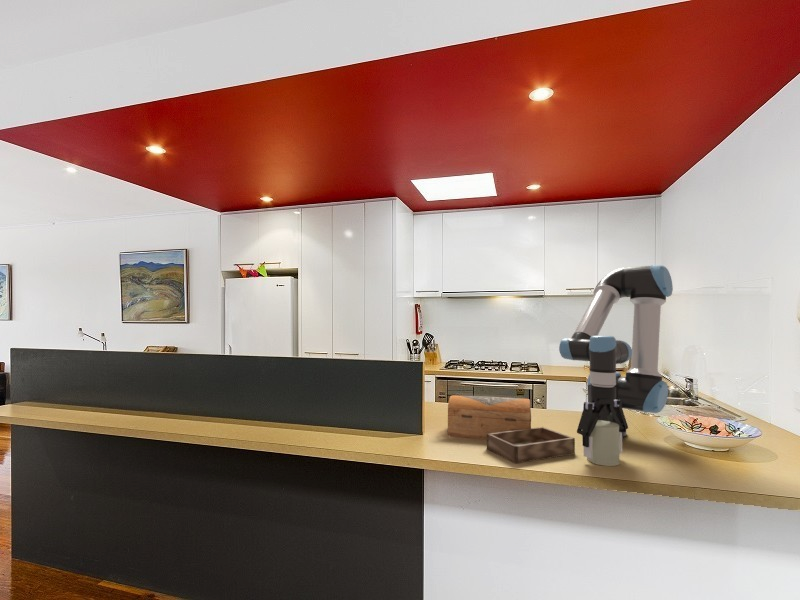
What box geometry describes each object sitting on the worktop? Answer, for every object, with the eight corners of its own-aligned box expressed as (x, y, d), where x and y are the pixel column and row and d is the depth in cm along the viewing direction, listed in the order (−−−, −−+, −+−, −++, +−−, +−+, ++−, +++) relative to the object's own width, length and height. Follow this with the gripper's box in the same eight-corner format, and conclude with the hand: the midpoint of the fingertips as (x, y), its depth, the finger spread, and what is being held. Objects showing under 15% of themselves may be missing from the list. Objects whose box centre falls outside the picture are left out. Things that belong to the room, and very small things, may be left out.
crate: (542, 440, 153) (542, 426, 153) (574, 453, 140) (574, 438, 140) (486, 448, 144) (486, 433, 144) (515, 463, 130) (515, 446, 130)
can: (609, 455, 138) (609, 418, 138) (626, 466, 128) (625, 426, 129) (581, 456, 137) (581, 418, 138) (595, 466, 128) (595, 426, 129)
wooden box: (529, 430, 167) (529, 395, 168) (531, 443, 151) (531, 403, 152) (452, 425, 174) (452, 391, 175) (447, 436, 158) (447, 399, 159)
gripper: (619, 381, 142) (620, 446, 141) (564, 385, 132) (564, 455, 132) (640, 384, 135) (641, 453, 134) (583, 389, 125) (583, 463, 125)
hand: (603, 454), depth 133 cm, fingers open, 12 cm apart
